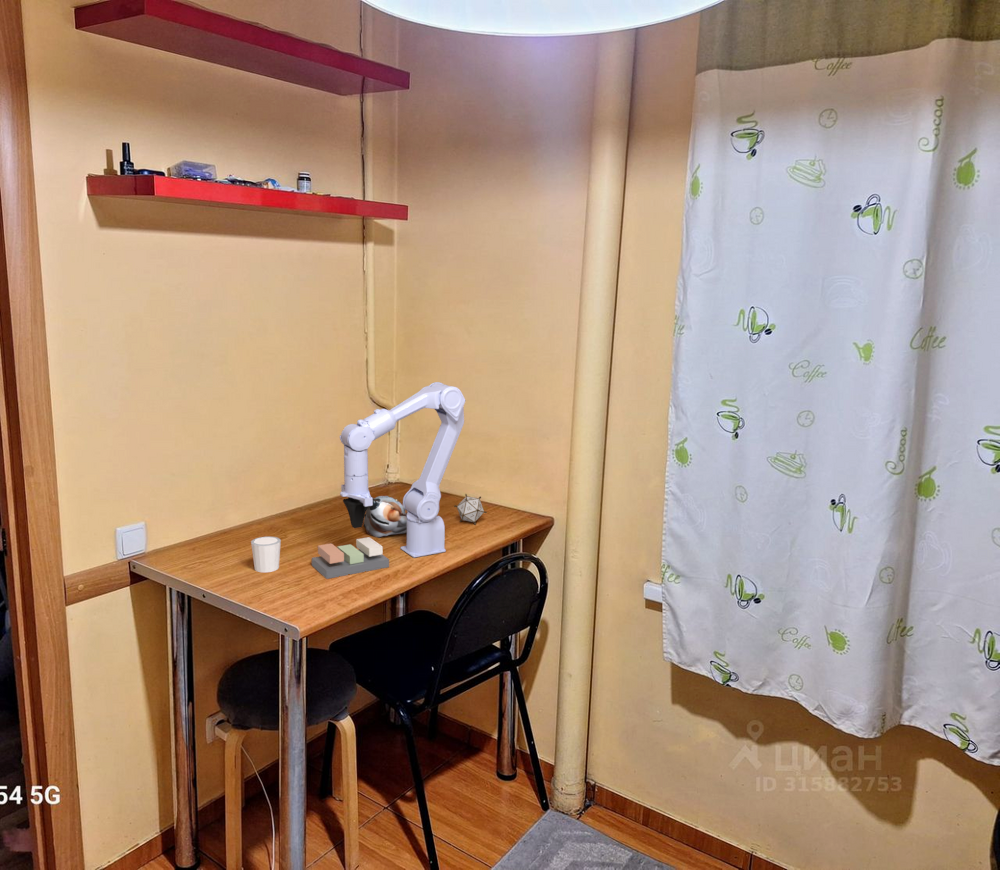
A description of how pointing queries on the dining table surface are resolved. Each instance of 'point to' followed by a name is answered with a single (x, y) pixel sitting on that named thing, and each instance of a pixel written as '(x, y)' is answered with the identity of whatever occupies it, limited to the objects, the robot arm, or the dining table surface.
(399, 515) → the lucky cat figurine
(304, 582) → the dining table surface
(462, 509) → the game die
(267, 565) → the shot glass
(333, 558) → the terracotta button
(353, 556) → the sage button
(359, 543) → the off-white button
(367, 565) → the button panel
